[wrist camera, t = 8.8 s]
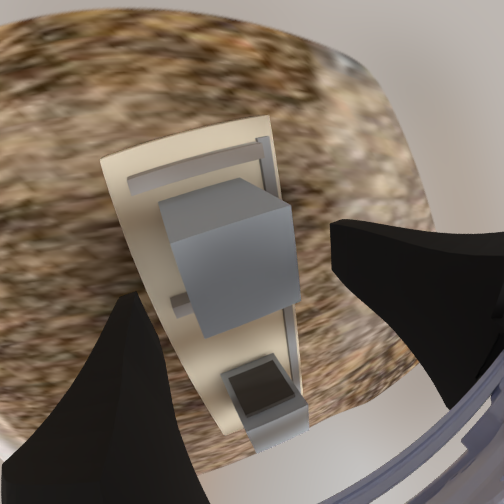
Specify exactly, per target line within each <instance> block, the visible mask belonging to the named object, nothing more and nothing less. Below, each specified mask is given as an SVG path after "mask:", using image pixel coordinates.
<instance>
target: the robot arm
mask: <svg viewBox="0 0 504 504" xmlns="http://www.w3.org/2000/svg"><path fill="white" fill-rule="evenodd" d="M330 238H331V264H332V271H333V272H334V273H335V274H336V276H337V277H338V278H339V279H340V280H341V282H342V283H343V284H344V285H345V286H346V287H347V288H348V289H349V290H350V291H351V292H352V293H353V294H354V295H356V296H357V297H358V298H359V299H360V300H361V301H362V302H364V303H365V304H366V305H367V306H368V307H369V308H370V309H372V310H373V311H374V312H375V313H376V314H377V315H378V316H380V317H381V318H382V319H383V320H384V321H385V322H386V323H387V324H388V325H389V326H390V327H391V328H392V329H393V330H394V331H395V332H396V333H397V335H398V336H399V337H400V338H401V339H402V340H403V342H404V343H405V344H406V345H407V346H408V348H409V349H410V350H411V352H412V353H413V354H414V355H415V357H416V358H417V359H418V361H419V362H420V364H421V365H422V366H423V368H424V369H425V371H426V372H427V374H428V375H429V377H430V378H431V380H432V382H433V383H434V385H435V387H436V388H437V390H438V392H439V394H440V395H441V397H442V399H443V401H444V403H445V405H446V407H447V408H448V409H449V410H450V411H449V412H448V413H447V414H446V415H445V416H444V417H442V418H441V419H440V420H439V421H438V422H437V423H436V424H435V425H434V426H433V427H431V428H430V429H429V430H428V431H427V432H426V433H425V434H423V435H422V436H421V437H420V438H419V439H417V440H416V441H415V442H414V443H412V444H411V445H410V446H409V447H408V448H406V449H405V450H403V451H402V452H401V453H400V454H398V455H397V456H396V457H394V458H393V459H391V460H390V461H389V462H387V463H386V464H384V465H383V466H381V467H380V468H378V469H377V470H376V471H374V472H372V473H371V474H369V475H368V476H366V477H365V478H363V479H362V480H360V481H358V482H356V483H355V484H353V485H351V486H350V487H348V488H346V489H345V490H343V491H341V492H339V493H337V494H336V495H334V496H332V497H330V498H328V499H326V500H324V501H322V502H320V503H318V504H369V503H370V502H372V501H373V500H375V499H377V498H378V497H380V496H381V495H383V494H384V493H386V492H387V491H389V490H390V489H391V488H393V487H394V486H395V485H397V484H398V483H400V482H401V481H402V480H404V479H405V478H406V477H408V476H409V475H410V474H411V473H413V472H414V471H415V470H416V469H418V468H419V467H420V466H421V465H422V464H424V463H425V462H426V461H427V460H429V459H430V458H431V457H432V456H433V455H434V454H435V453H436V452H438V451H439V450H440V449H441V448H442V447H443V446H444V445H445V444H446V443H447V442H448V441H449V440H450V439H451V438H452V437H453V436H454V435H455V434H456V433H457V432H458V431H459V430H460V429H461V428H462V427H463V426H464V425H465V424H466V423H467V422H468V421H469V420H470V419H471V418H472V417H473V415H474V414H475V413H476V412H477V411H478V410H479V409H480V407H481V406H482V405H483V404H484V403H485V402H486V400H487V399H488V398H489V397H490V395H491V406H490V407H489V409H488V410H487V411H486V412H485V413H484V415H483V416H482V417H481V418H480V419H479V421H478V422H477V423H476V424H475V425H474V426H473V427H472V428H471V429H470V430H469V432H468V433H467V434H466V435H465V436H464V437H463V438H462V439H461V442H462V443H463V445H465V446H466V448H467V450H466V451H465V452H464V453H463V454H462V455H461V456H460V457H459V458H458V459H457V460H456V461H455V462H454V463H453V464H452V465H451V466H450V467H449V468H448V469H447V470H445V471H444V472H443V473H442V474H441V475H440V476H439V477H438V478H436V479H435V480H434V481H433V482H432V483H430V484H429V485H428V486H427V487H426V488H424V489H423V490H422V491H421V492H419V493H418V494H417V495H415V496H414V497H413V498H412V499H410V500H409V501H407V502H406V503H405V504H504V232H497V233H485V234H450V233H438V232H427V231H420V230H413V229H407V228H401V227H395V226H389V225H384V224H378V223H372V222H366V221H359V220H350V219H342V220H339V221H336V222H333V223H330ZM1 479H2V480H1V496H2V497H1V498H2V504H210V502H209V500H208V498H207V497H206V494H205V492H204V490H203V488H202V486H201V484H200V482H199V480H198V477H197V475H196V473H195V470H194V468H193V466H192V463H191V461H190V458H189V456H188V453H187V451H186V448H185V445H184V443H183V440H182V437H181V434H180V431H179V428H178V425H177V421H176V417H175V413H174V408H173V403H172V398H171V392H170V387H169V381H168V375H167V369H166V364H165V359H164V355H163V352H162V348H161V345H160V341H159V337H158V335H157V333H156V331H155V329H154V327H153V325H152V323H151V321H150V319H149V317H148V315H147V313H146V311H145V309H144V307H143V305H142V303H141V301H140V298H139V296H138V294H137V292H136V291H135V292H133V293H130V294H127V295H124V296H121V297H119V299H118V301H117V303H116V305H115V307H114V309H113V311H112V313H111V315H110V317H109V319H108V321H107V323H106V325H105V327H104V329H103V331H102V333H101V335H100V337H99V339H98V341H97V343H96V344H95V346H94V348H93V350H92V352H91V354H90V356H89V357H88V359H87V361H86V363H85V365H84V366H83V368H82V370H81V371H80V373H79V374H78V376H77V377H76V379H75V381H74V382H73V384H72V385H71V387H70V388H69V390H68V391H67V392H66V394H65V395H64V396H63V398H62V399H61V400H60V402H59V403H58V404H57V406H56V407H55V408H54V410H53V411H52V413H51V414H50V415H49V416H48V417H47V419H46V420H45V421H44V422H43V423H42V425H41V426H40V427H39V428H38V429H37V430H36V431H35V432H34V434H33V435H32V436H31V437H30V438H29V439H28V440H27V441H26V442H25V443H24V444H23V445H22V446H21V447H20V448H19V449H18V450H17V451H16V452H15V453H14V454H13V455H11V456H10V457H9V458H8V459H7V460H6V461H5V462H4V463H3V464H2V477H1Z"/></svg>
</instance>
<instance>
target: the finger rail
mask: <svg viewBox="0 0 504 504" xmlns="http://www.w3.org/2000/svg"><path fill="white" fill-rule="evenodd" d="M100 163H101V167H102V170H103V173H104V177H105V180H106V183H107V187H108V190H109V193H110V196H111V199H112V202H113V205H114V208H115V211H116V214H117V217H118V220H119V223H120V225H121V228H122V231H123V234H124V236H125V239H126V242H127V244H128V247H129V249H130V252H131V255H132V257H133V260H134V262H135V265H136V267H137V269H138V272H139V274H140V277H141V279H142V281H143V284H144V286H145V288H146V291H147V293H148V295H149V298H150V300H151V302H152V304H153V306H154V309H155V311H156V313H157V315H158V317H159V319H160V321H161V323H162V326H163V328H164V330H165V332H166V334H167V336H168V338H169V340H170V342H171V344H172V346H173V348H174V350H175V352H176V354H177V355H178V357H179V359H180V361H181V363H182V365H183V367H184V369H185V370H186V372H187V374H188V376H189V378H190V380H191V381H192V383H193V385H194V387H195V388H196V390H197V392H198V394H199V395H200V397H201V399H202V400H203V402H204V404H205V406H206V407H207V409H208V410H209V412H210V414H211V415H212V417H213V419H214V420H215V422H216V423H217V425H218V427H219V428H220V430H221V431H222V433H223V434H224V436H225V435H228V434H231V433H234V432H236V431H239V430H242V429H245V431H246V433H247V435H248V437H249V439H250V441H251V443H252V445H253V447H254V449H255V451H256V453H259V452H262V451H264V450H267V449H269V448H272V447H274V446H276V445H278V444H281V443H283V442H285V441H287V440H289V439H292V438H294V437H296V436H298V435H300V434H302V433H304V432H306V431H308V430H309V414H308V404H307V402H306V401H305V399H304V398H303V390H302V377H301V365H300V353H299V342H298V331H297V321H296V311H295V304H292V305H290V306H288V307H285V308H283V309H281V310H278V311H276V312H273V313H271V314H268V315H266V316H264V317H261V318H259V319H256V320H254V321H251V322H248V323H246V324H243V325H241V326H238V327H236V328H233V329H230V330H228V331H225V332H223V333H220V334H217V335H215V336H212V337H209V338H206V339H204V336H203V334H202V331H201V328H200V326H199V323H198V321H197V318H196V316H195V313H194V310H193V308H192V305H191V302H190V300H189V297H188V294H187V291H186V289H185V286H184V283H183V280H182V277H181V275H180V272H179V269H178V266H177V263H176V260H175V257H174V254H173V251H172V248H171V245H170V242H169V239H168V235H167V232H166V229H165V225H164V222H163V219H162V215H161V212H160V208H159V205H158V202H159V201H162V200H165V199H168V198H171V197H175V196H178V195H181V194H184V193H187V192H191V191H194V190H197V189H201V188H204V187H207V186H211V185H214V184H218V183H221V182H225V181H228V180H232V179H236V178H239V177H240V178H242V179H244V180H246V181H247V182H249V183H251V184H253V185H255V186H257V187H259V188H261V189H262V190H264V191H266V192H268V193H270V194H272V195H273V196H275V197H277V198H279V199H281V200H282V196H281V189H280V182H279V175H278V168H277V162H276V155H275V149H274V142H273V136H272V130H271V124H270V118H269V115H258V116H253V117H247V118H242V119H237V120H232V121H227V122H222V123H217V124H213V125H209V126H204V127H200V128H196V129H192V130H188V131H184V132H180V133H177V134H173V135H169V136H166V137H162V138H159V139H156V140H152V141H149V142H146V143H143V144H139V145H136V146H133V147H130V148H127V149H124V150H121V151H118V152H116V153H113V154H110V155H107V156H104V157H102V158H101V159H100Z"/></svg>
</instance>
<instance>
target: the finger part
mask: <svg viewBox="0 0 504 504" xmlns="http://www.w3.org/2000/svg"><path fill="white" fill-rule="evenodd" d="M158 205H159V208H160V212H161V215H162V219H163V222H164V225H165V229H166V232H167V235H168V239H169V242H170V245H171V248H172V251H173V254H174V257H175V260H176V263H177V266H178V269H179V272H180V275H181V277H182V280H183V283H184V286H185V289H186V291H187V294H188V297H189V300H190V302H191V305H192V308H193V310H194V313H195V316H196V318H197V321H198V323H199V326H200V328H201V331H202V334H203V336H204V339H206V338H209V337H212V336H215V335H217V334H220V333H223V332H225V331H228V330H230V329H233V328H236V327H238V326H241V325H243V324H246V323H248V322H251V321H254V320H256V319H259V318H261V317H264V316H266V315H268V314H271V313H273V312H276V311H278V310H281V309H283V308H285V307H288V306H290V305H292V304H295V303H297V302H299V301H301V295H300V284H299V273H298V264H297V254H296V245H295V236H294V227H293V219H292V210H291V205H290V204H288V203H286V202H284V201H283V200H281V199H279V198H277V197H275V196H273V195H272V194H270V193H268V192H266V191H264V190H262V189H261V188H259V187H257V186H255V185H253V184H251V183H249V182H247V181H246V180H244V179H242V178H240V177H239V178H236V179H232V180H228V181H225V182H221V183H218V184H214V185H211V186H207V187H204V188H201V189H197V190H194V191H191V192H187V193H184V194H181V195H178V196H175V197H171V198H168V199H165V200H162V201H159V202H158Z"/></svg>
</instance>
